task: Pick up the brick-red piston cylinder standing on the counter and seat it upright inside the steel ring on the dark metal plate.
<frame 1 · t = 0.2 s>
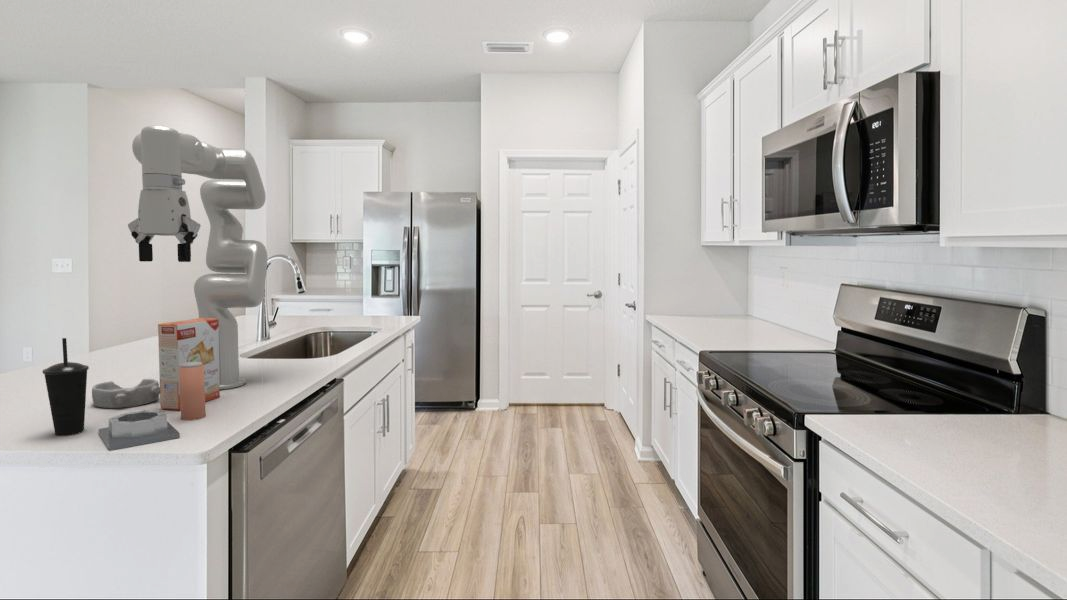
hand: (165, 261, 135), 36 cm above the worktop, tool pointing down, fingers open, 9 cm apart
drinking cup: (69, 433, 127), on the worktop
cracker box: (192, 403, 152), on the worktop
dish: (127, 404, 152), on the worktop
piston: (193, 417, 139), on the worktop
ring block: (138, 435, 125), on the worktop
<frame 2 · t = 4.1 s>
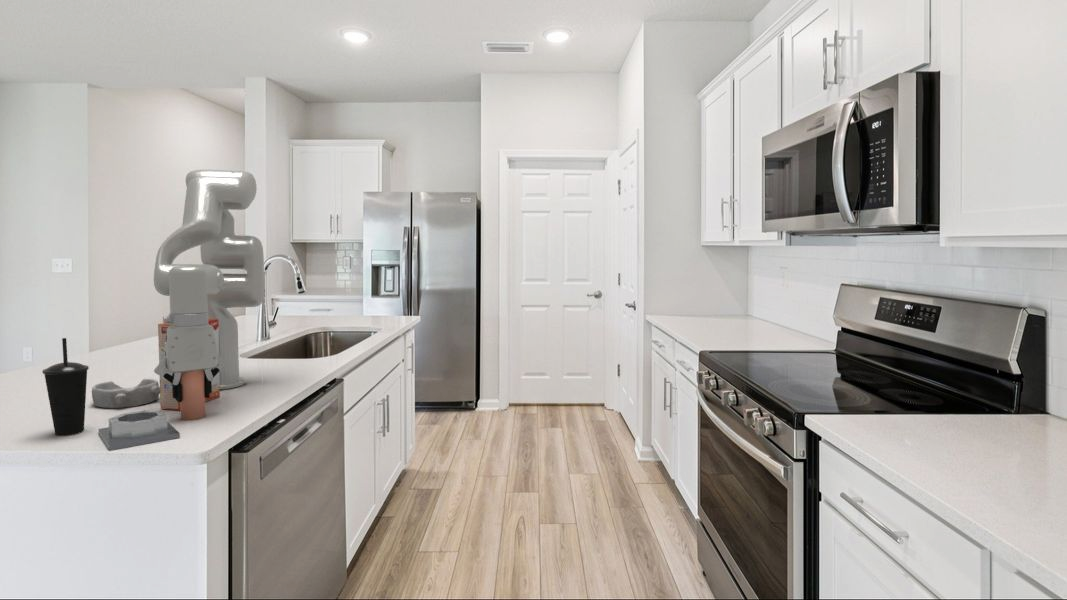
hand: (192, 398, 139), 4 cm above the worktop, tool pointing down, fingers closed on piston, 5 cm apart
piston: (193, 417, 139), on the worktop, touching gripper
everything else where it was.
when the fingers open (7 cm above the worktop, at t = 9.8 s): piston drops 1 cm, resting on ring block.
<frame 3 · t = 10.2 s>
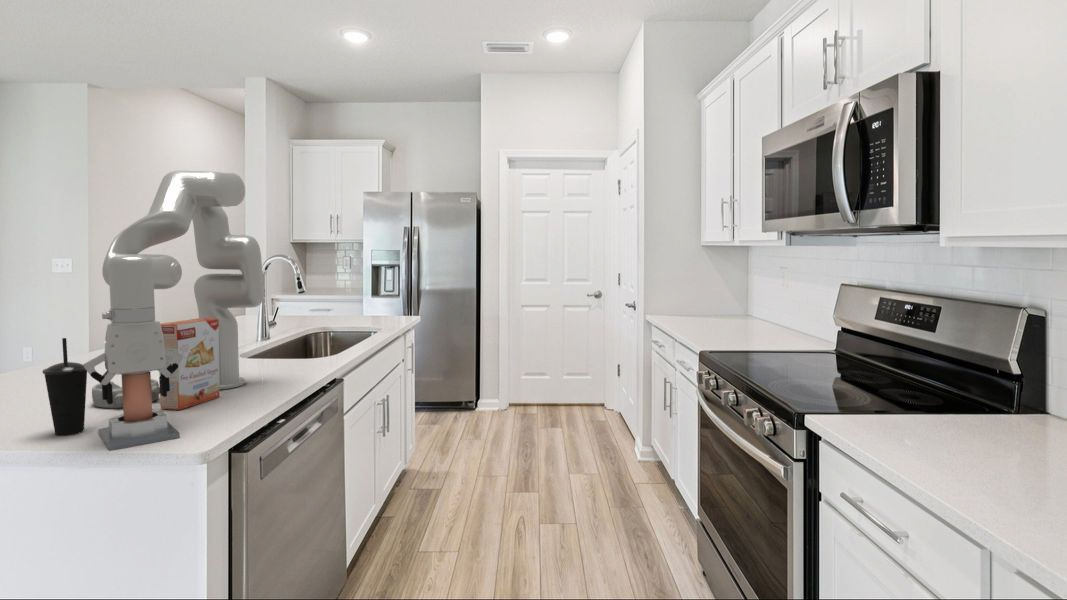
hand: (137, 399, 125), 8 cm above the worktop, tool pointing down, fingers open, 9 cm apart
piston: (139, 430, 125), point 1 cm above the worktop, touching ring block
everything else where it was.
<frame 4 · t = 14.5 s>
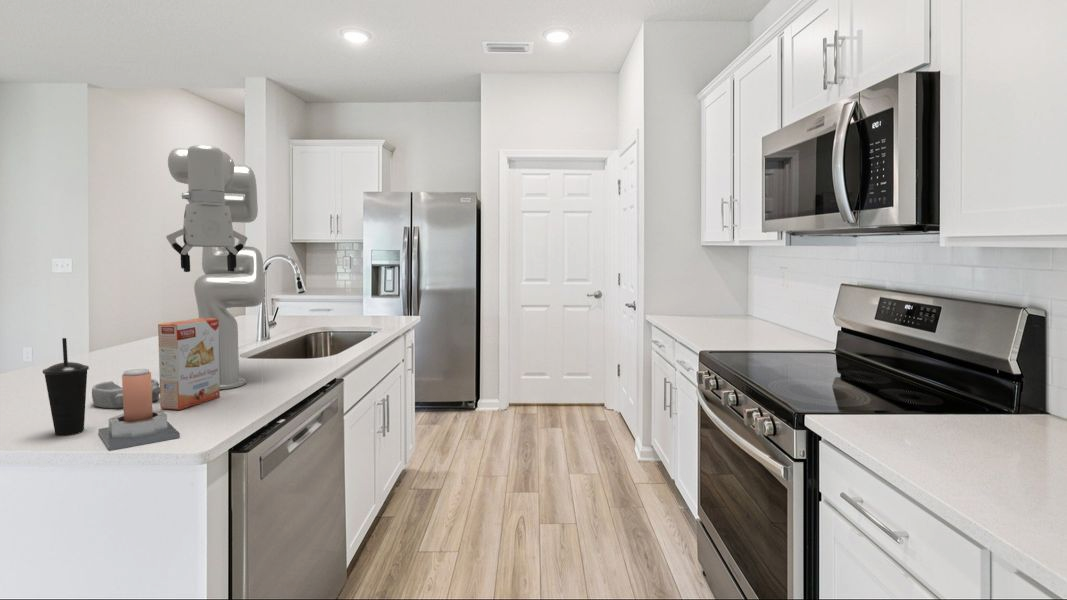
hand: (209, 271, 145), 33 cm above the worktop, tool pointing down, fingers open, 9 cm apart
nothing on the worktop moved.
at the end: piston 0.1 cm off-centre on the ring block, point 1.0 cm above the ring block's base; piston tilted 1°; the gripper is holding nothing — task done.
